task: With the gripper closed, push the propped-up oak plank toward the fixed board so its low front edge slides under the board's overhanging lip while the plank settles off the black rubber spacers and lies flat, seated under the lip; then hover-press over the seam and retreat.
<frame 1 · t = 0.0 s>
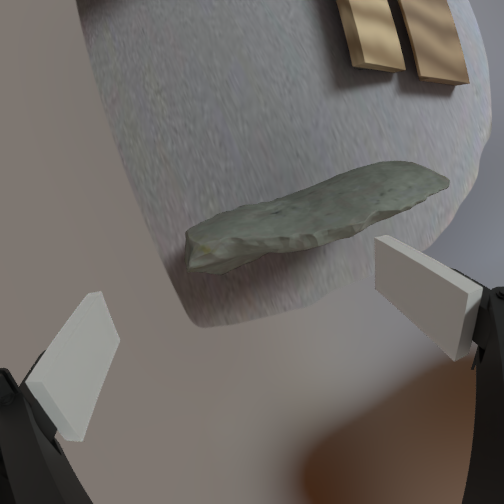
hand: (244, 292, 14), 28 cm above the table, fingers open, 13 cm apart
rock: (286, 196, 41), on the table
plank: (359, 20, 34), on the table, touching spacers
board: (426, 30, 35), on the table
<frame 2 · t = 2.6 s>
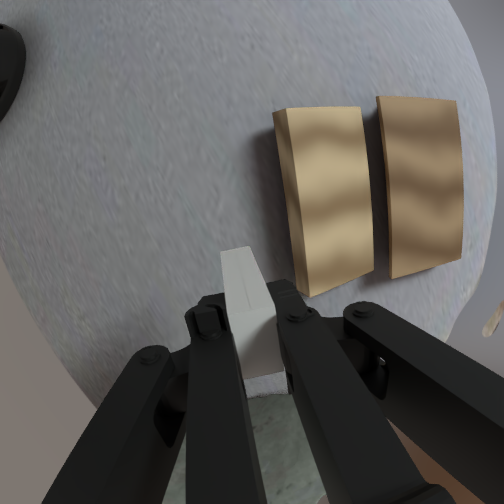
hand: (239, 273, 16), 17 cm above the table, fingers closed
rock: (223, 402, 40), on the table
plank: (321, 194, 32), on the table, touching spacers
board: (420, 181, 33), on the table
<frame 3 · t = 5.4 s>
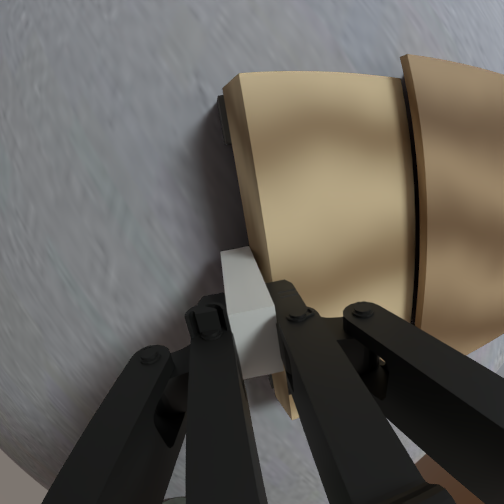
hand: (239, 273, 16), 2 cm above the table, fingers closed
spacers: (263, 254, 17), on the table
rock: (172, 496, 25), on the table
plank: (328, 239, 18), on the table
board: (466, 211, 19), on the table
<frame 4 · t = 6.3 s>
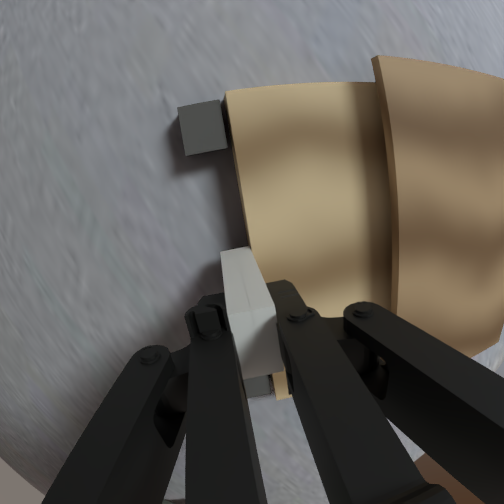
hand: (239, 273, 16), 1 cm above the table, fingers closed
spacers: (228, 266, 17), on the table
rock: (154, 498, 25), on the table
plank: (328, 237, 19), on the table, tilted 17°
board: (449, 220, 18), on the table
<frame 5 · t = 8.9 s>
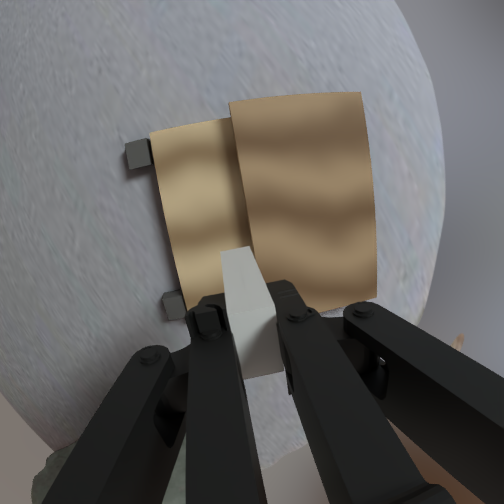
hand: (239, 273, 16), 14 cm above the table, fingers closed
spacers: (157, 231, 28), on the table
rock: (122, 426, 36), on the table
plank: (224, 214, 31), on the table, tilted 17°
board: (316, 201, 30), on the table
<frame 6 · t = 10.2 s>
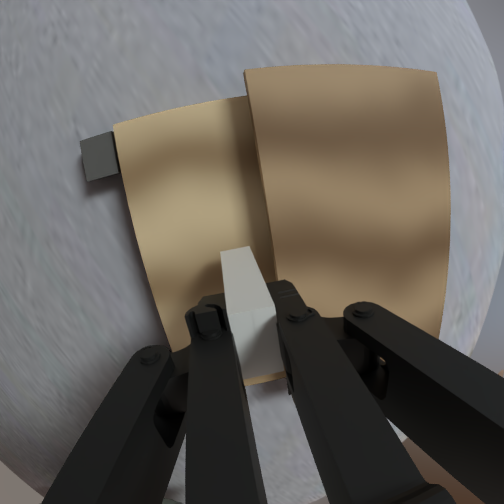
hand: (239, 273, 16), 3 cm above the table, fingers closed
spacers: (134, 272, 19), on the table
plank: (233, 245, 21), on the table, tilted 17°
board: (366, 227, 20), on the table
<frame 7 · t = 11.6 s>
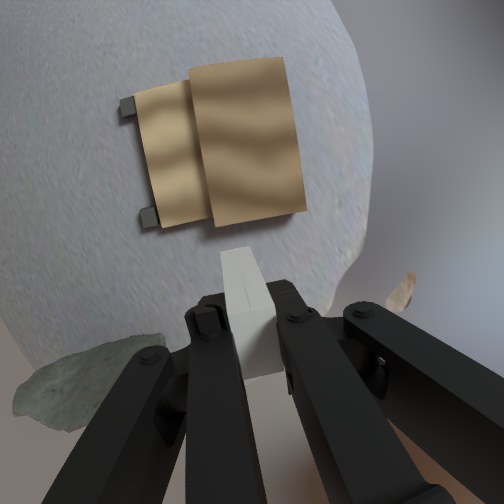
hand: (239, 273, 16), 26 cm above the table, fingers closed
spacers: (139, 161, 37), on the table
rock: (103, 343, 45), on the table
plank: (188, 150, 40), on the table, tilted 17°
board: (255, 138, 39), on the table
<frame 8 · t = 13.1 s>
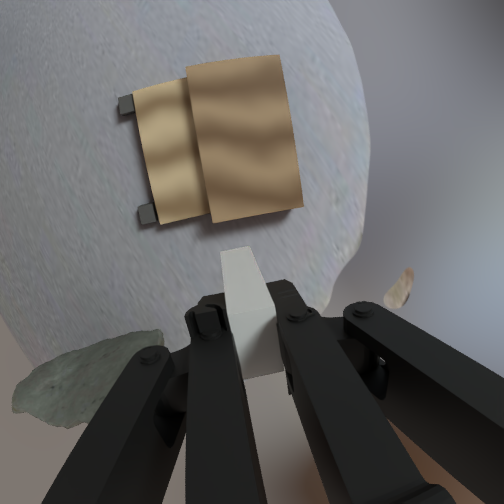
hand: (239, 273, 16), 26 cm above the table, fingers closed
spacers: (137, 158, 38), on the table
rock: (101, 340, 45), on the table
plank: (186, 147, 40), on the table, tilted 17°
board: (252, 135, 39), on the table
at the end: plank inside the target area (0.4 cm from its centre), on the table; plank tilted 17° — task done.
